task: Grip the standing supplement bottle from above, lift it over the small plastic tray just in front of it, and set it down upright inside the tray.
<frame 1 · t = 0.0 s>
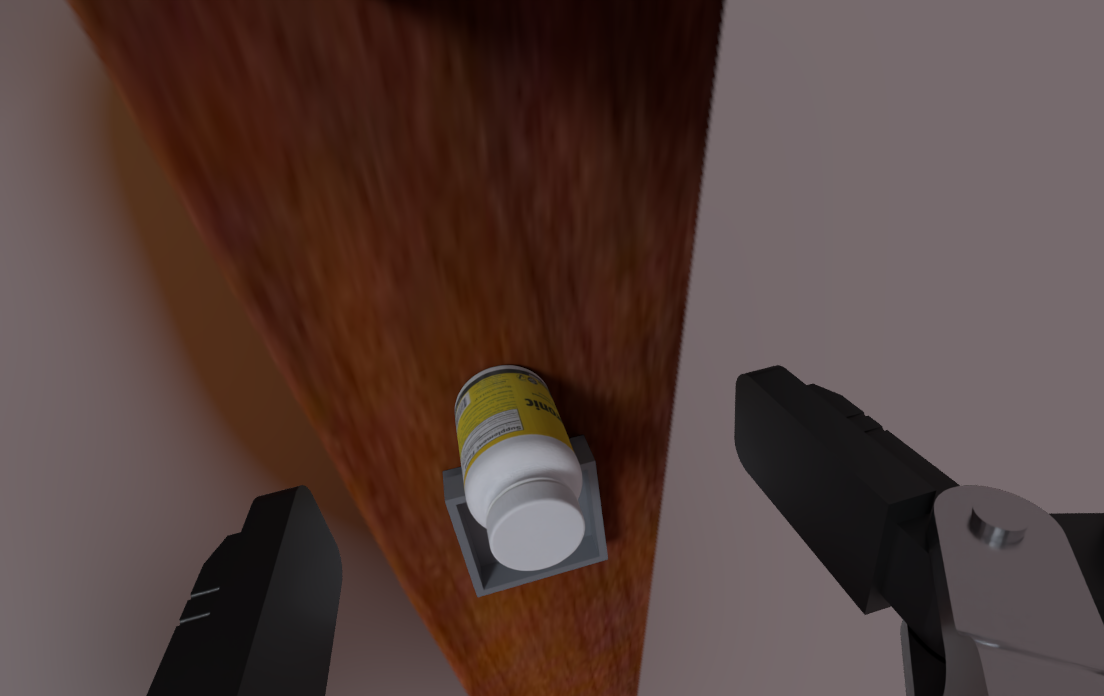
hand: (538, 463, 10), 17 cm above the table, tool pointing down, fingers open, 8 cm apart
tray: (526, 503, 34), on the table
supplement bottle: (502, 400, 30), on the table
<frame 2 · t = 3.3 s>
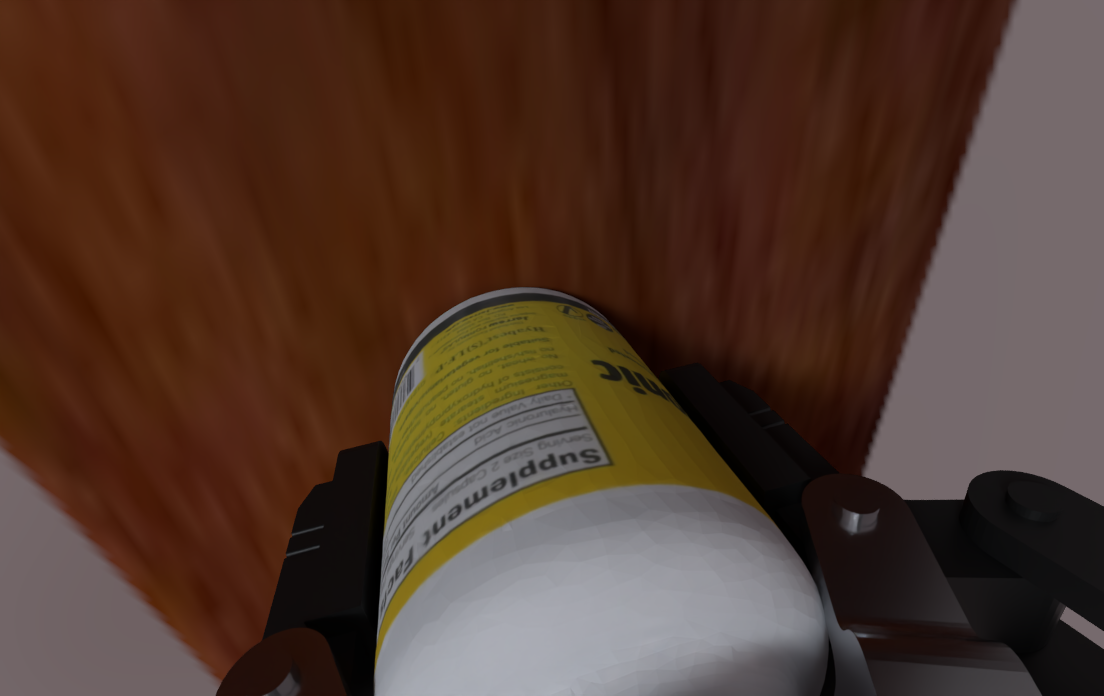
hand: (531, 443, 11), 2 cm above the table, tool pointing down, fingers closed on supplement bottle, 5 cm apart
supplement bottle: (515, 386, 12), on the table, touching gripper
when the fingers open (4 cm above the table, at t = 9.6 s): supplement bottle drops 2 cm, resting on tray.
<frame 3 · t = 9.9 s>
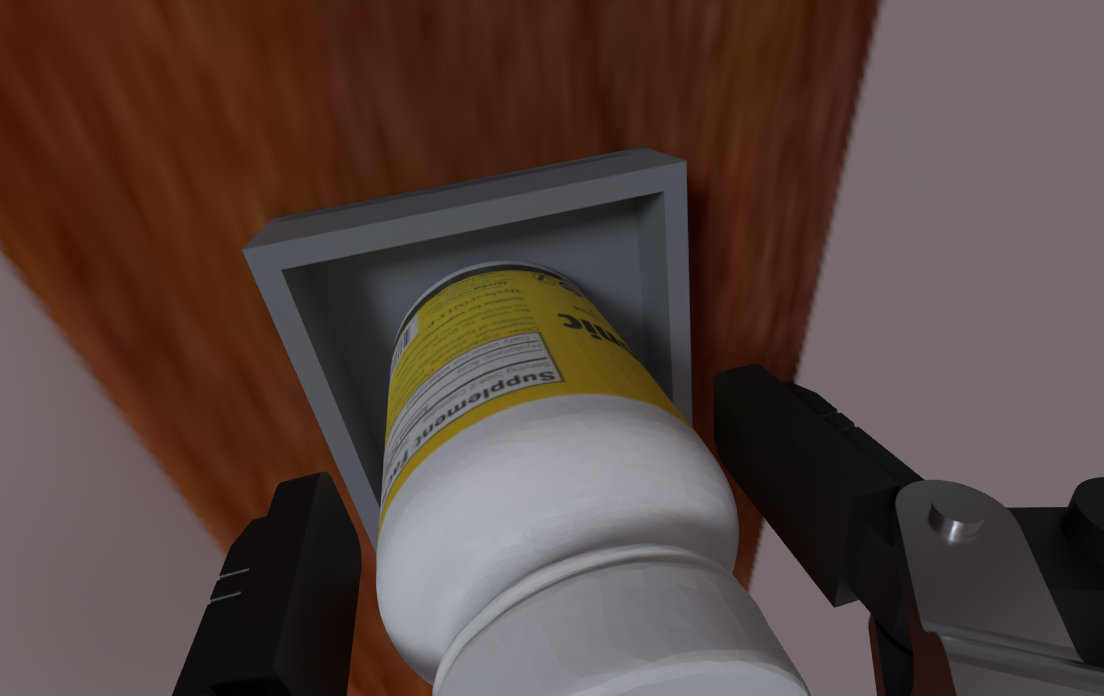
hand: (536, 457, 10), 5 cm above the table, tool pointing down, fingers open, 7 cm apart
tray: (501, 343, 14), on the table
supplement bottle: (500, 350, 14), resting on tray
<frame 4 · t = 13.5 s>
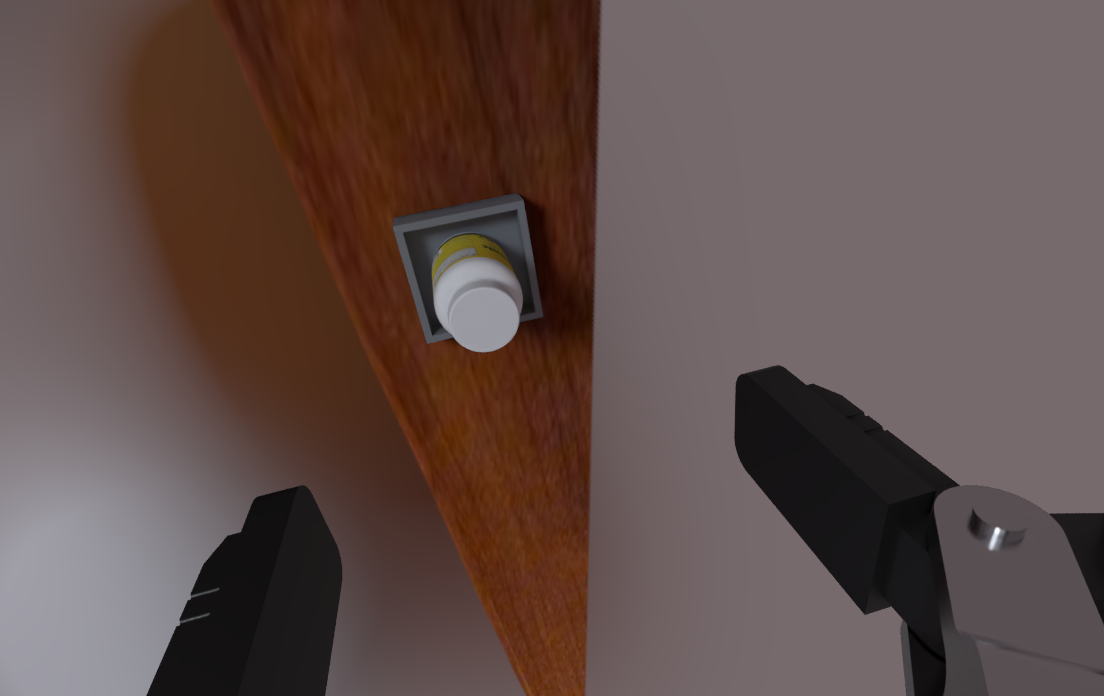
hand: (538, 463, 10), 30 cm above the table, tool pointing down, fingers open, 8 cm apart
tray: (470, 264, 39), on the table
supplement bottle: (469, 265, 39), resting on tray
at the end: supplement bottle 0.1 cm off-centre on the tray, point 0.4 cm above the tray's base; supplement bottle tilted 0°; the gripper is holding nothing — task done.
